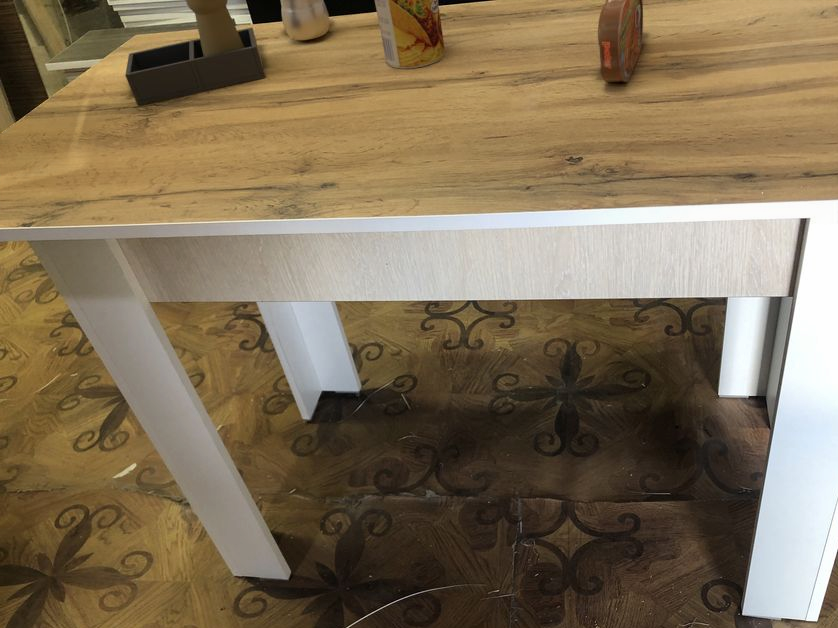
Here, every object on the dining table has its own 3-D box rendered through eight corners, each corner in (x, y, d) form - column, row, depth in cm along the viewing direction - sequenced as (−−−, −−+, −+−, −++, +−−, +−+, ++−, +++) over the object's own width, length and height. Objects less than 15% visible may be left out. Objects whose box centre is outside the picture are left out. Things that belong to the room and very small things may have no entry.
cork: (204, 67, 106) (175, -18, 99) (247, 56, 108) (221, -29, 101) (210, 80, 102) (180, -7, 95) (255, 69, 103) (229, -19, 96)
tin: (623, 94, 85) (623, 15, 80) (594, 94, 86) (593, 16, 81) (644, 43, 96) (646, -30, 90) (619, 43, 97) (619, -29, 91)
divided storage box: (137, 106, 101) (125, 75, 98) (140, 83, 107) (128, 53, 104) (265, 77, 103) (256, 46, 100) (260, 56, 109) (252, 27, 107)
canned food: (456, 54, 101) (443, -45, 93) (405, 73, 98) (387, -28, 90) (424, 41, 106) (410, -55, 98) (375, 59, 103) (356, -38, 95)
